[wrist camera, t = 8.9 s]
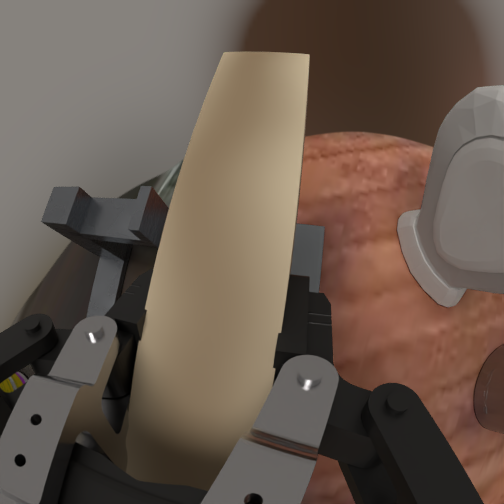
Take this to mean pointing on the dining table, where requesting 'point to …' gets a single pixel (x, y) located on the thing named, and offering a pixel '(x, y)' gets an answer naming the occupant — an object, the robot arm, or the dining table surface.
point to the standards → (107, 233)
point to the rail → (221, 273)
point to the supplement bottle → (13, 382)
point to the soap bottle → (461, 204)
